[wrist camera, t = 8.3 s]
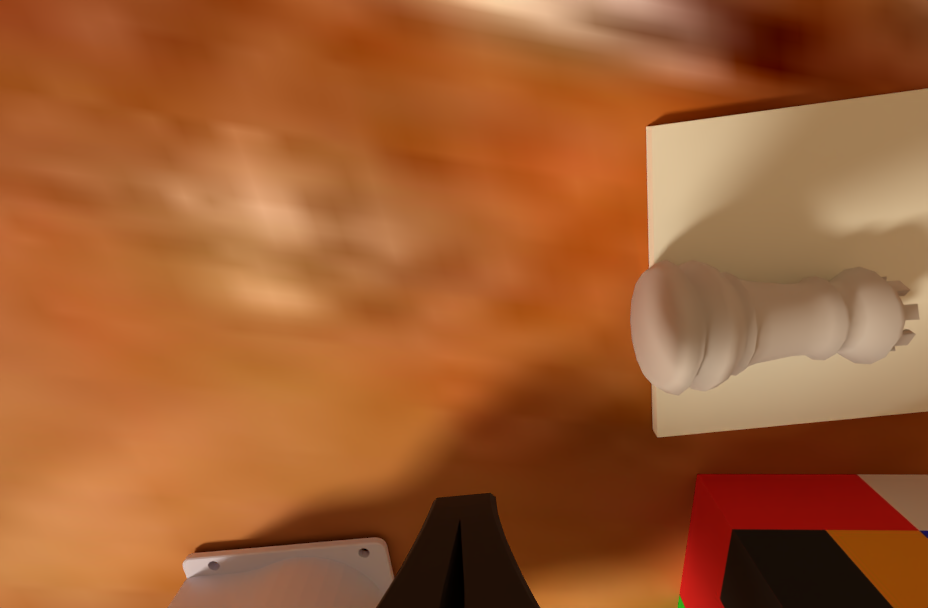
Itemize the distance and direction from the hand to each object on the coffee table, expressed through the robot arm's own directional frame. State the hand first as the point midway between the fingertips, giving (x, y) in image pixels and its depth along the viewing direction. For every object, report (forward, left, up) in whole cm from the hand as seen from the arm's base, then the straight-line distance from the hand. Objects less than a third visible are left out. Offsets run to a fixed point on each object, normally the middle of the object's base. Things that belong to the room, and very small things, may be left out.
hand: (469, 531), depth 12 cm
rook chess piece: (+6, +2, -6) cm, 9 cm away
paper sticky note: (+12, +2, -9) cm, 16 cm away
